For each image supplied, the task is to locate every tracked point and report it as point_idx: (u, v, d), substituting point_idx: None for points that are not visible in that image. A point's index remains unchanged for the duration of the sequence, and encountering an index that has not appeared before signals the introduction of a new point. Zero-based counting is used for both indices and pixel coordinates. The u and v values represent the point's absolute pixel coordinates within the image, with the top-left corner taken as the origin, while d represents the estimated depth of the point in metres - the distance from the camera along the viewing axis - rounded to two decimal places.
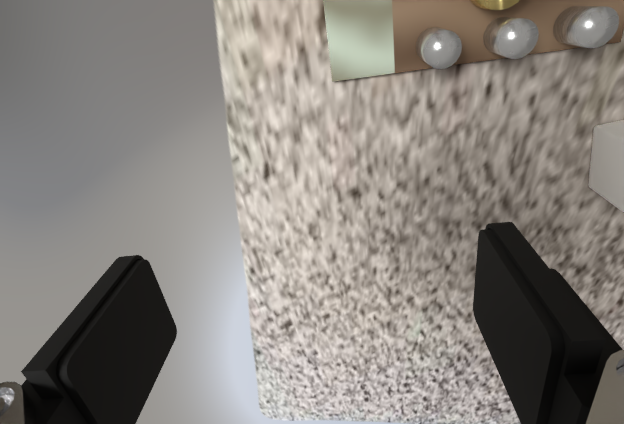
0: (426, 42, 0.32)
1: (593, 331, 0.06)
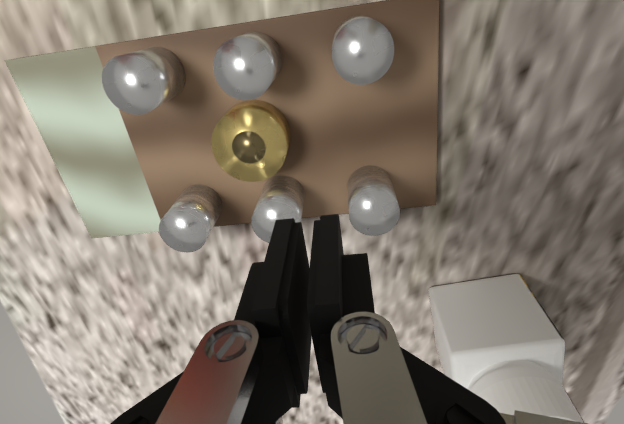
0: None
1: (335, 298, 0.08)
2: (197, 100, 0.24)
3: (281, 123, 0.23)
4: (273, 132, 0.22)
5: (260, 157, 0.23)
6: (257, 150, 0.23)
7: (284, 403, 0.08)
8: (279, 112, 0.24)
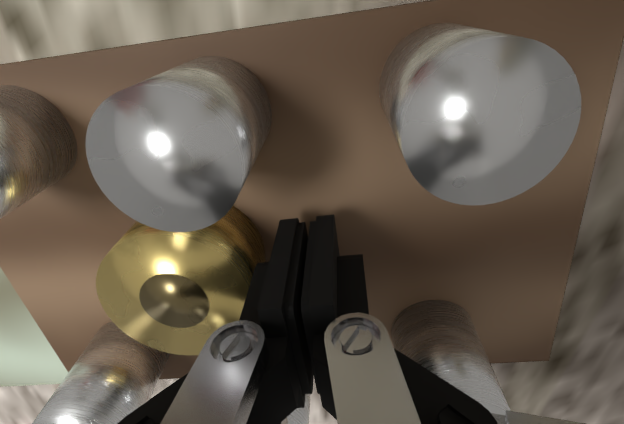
0: None
1: (329, 299, 0.08)
2: None
3: (241, 251, 0.11)
4: (223, 276, 0.11)
5: (200, 318, 0.11)
6: (192, 307, 0.11)
7: (290, 404, 0.08)
8: (240, 218, 0.12)
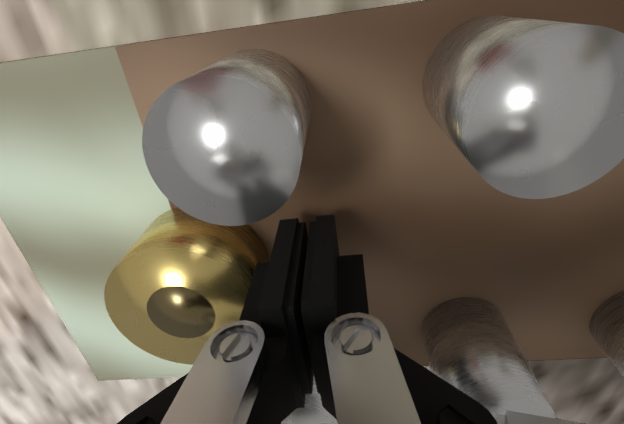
0: None
1: (329, 299, 0.08)
2: (328, 162, 0.11)
3: (243, 260, 0.11)
4: (226, 285, 0.11)
5: (207, 327, 0.12)
6: (198, 317, 0.11)
7: (290, 404, 0.08)
8: (241, 227, 0.12)
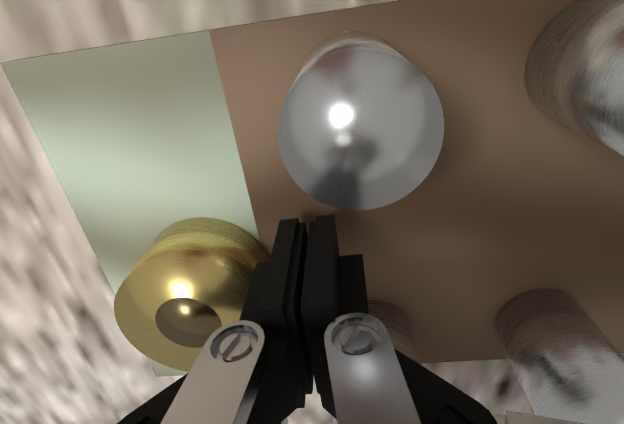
0: None
1: (329, 299, 0.08)
2: None
3: (243, 267, 0.11)
4: (228, 293, 0.11)
5: None
6: (206, 326, 0.12)
7: (290, 404, 0.08)
8: (241, 235, 0.13)
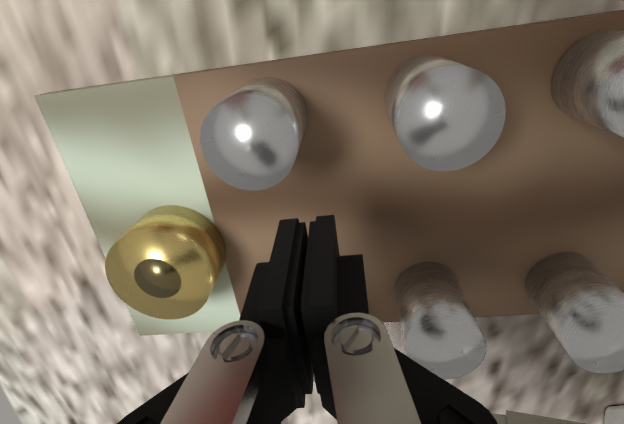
0: None
1: (329, 299, 0.08)
2: (320, 156, 0.16)
3: (197, 238, 0.16)
4: (184, 255, 0.16)
5: (177, 288, 0.16)
6: (169, 281, 0.16)
7: (290, 404, 0.08)
8: (199, 217, 0.17)
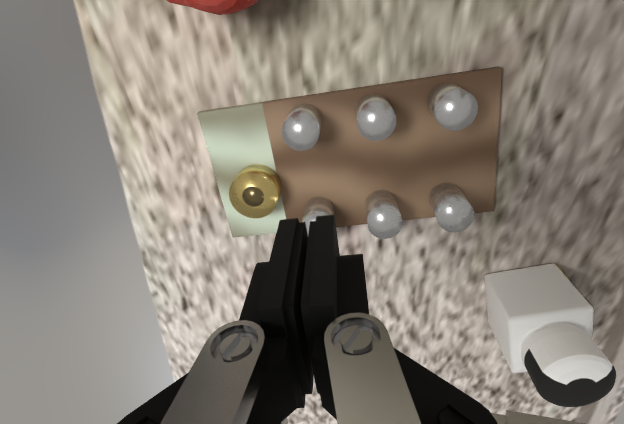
0: None
1: (329, 299, 0.08)
2: (327, 138, 0.35)
3: (271, 177, 0.35)
4: (266, 184, 0.34)
5: (261, 201, 0.35)
6: (259, 197, 0.35)
7: (290, 404, 0.08)
8: (270, 169, 0.36)
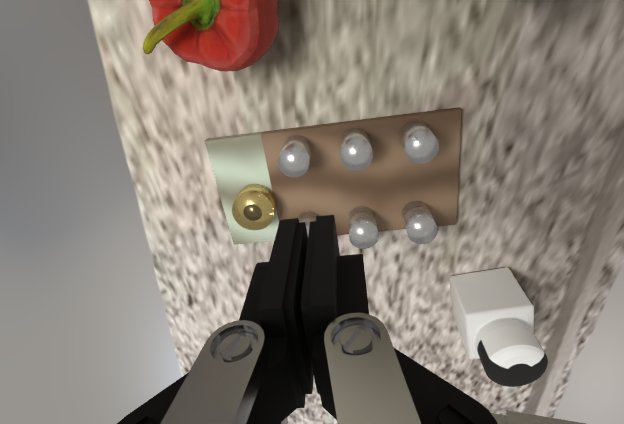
0: None
1: (329, 299, 0.08)
2: (316, 163, 0.41)
3: (268, 196, 0.41)
4: (264, 202, 0.40)
5: (260, 216, 0.41)
6: (257, 213, 0.41)
7: (289, 404, 0.08)
8: (266, 188, 0.42)
